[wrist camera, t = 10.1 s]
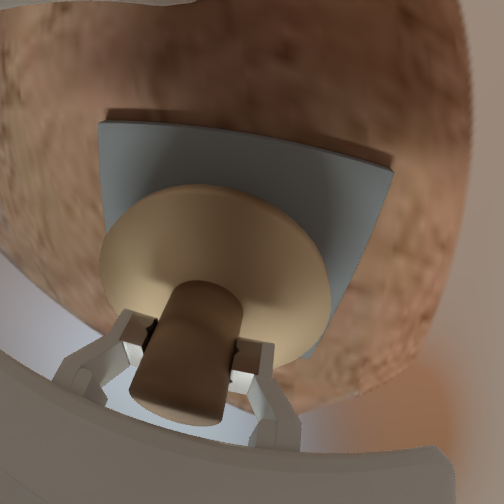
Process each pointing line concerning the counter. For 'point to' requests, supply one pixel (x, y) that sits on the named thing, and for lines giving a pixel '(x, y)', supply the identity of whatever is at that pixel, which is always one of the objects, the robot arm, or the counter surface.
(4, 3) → the foam cup
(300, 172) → the mat
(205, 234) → the lid
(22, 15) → the counter surface
